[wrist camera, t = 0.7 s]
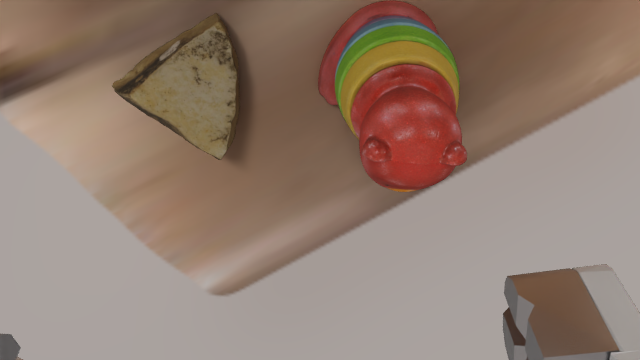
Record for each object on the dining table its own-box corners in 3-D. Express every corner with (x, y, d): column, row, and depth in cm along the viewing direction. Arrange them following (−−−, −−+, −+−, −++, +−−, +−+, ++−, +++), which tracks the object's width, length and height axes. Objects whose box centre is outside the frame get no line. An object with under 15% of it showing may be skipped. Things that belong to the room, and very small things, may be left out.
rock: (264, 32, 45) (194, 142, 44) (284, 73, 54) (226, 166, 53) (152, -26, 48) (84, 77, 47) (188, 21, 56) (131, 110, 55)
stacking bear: (314, 98, 53) (316, 222, 38) (334, -14, 47) (345, 80, 33) (430, 115, 54) (475, 241, 39) (463, 8, 49) (530, 108, 34)
